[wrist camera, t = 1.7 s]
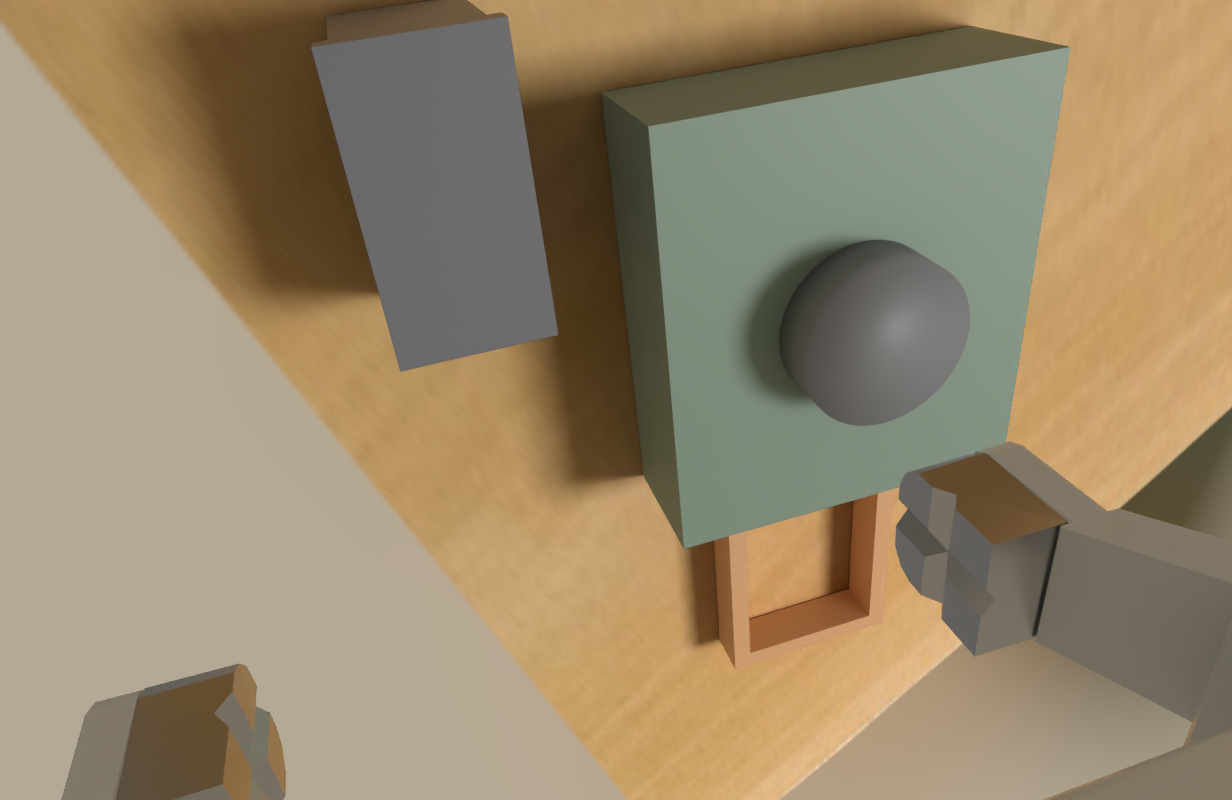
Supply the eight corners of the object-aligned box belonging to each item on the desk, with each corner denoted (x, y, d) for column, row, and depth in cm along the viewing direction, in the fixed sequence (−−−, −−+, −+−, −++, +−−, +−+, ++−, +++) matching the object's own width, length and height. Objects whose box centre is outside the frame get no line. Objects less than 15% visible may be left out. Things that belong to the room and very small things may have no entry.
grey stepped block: (473, -7, 26) (507, 16, 22) (521, 266, 31) (558, 335, 26) (312, 17, 26) (311, 47, 21) (387, 294, 30) (400, 371, 26)
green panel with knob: (971, 26, 31) (1118, 57, 26) (913, 579, 46) (998, 679, 40) (600, 92, 29) (671, 143, 23) (663, 657, 43) (716, 775, 38)
